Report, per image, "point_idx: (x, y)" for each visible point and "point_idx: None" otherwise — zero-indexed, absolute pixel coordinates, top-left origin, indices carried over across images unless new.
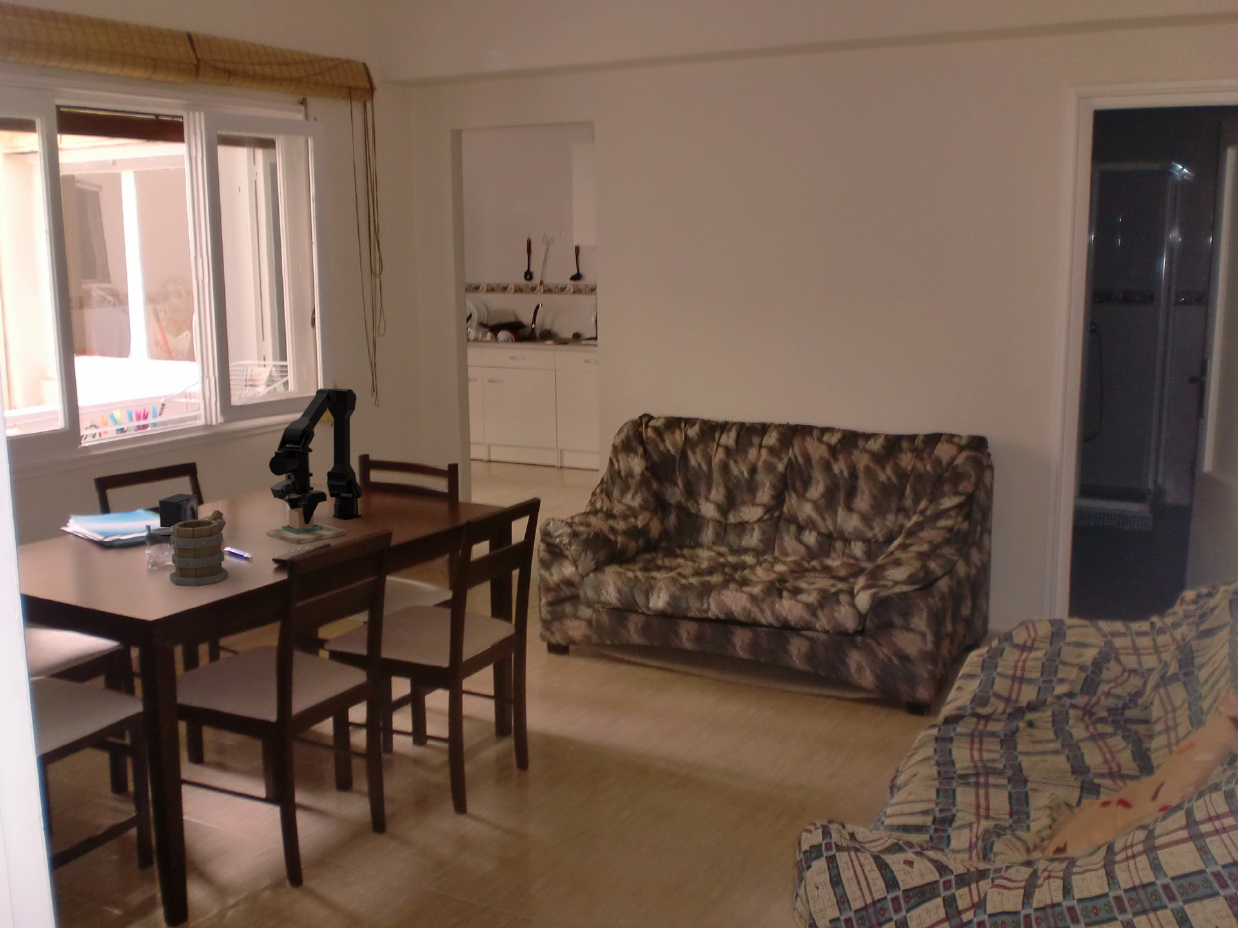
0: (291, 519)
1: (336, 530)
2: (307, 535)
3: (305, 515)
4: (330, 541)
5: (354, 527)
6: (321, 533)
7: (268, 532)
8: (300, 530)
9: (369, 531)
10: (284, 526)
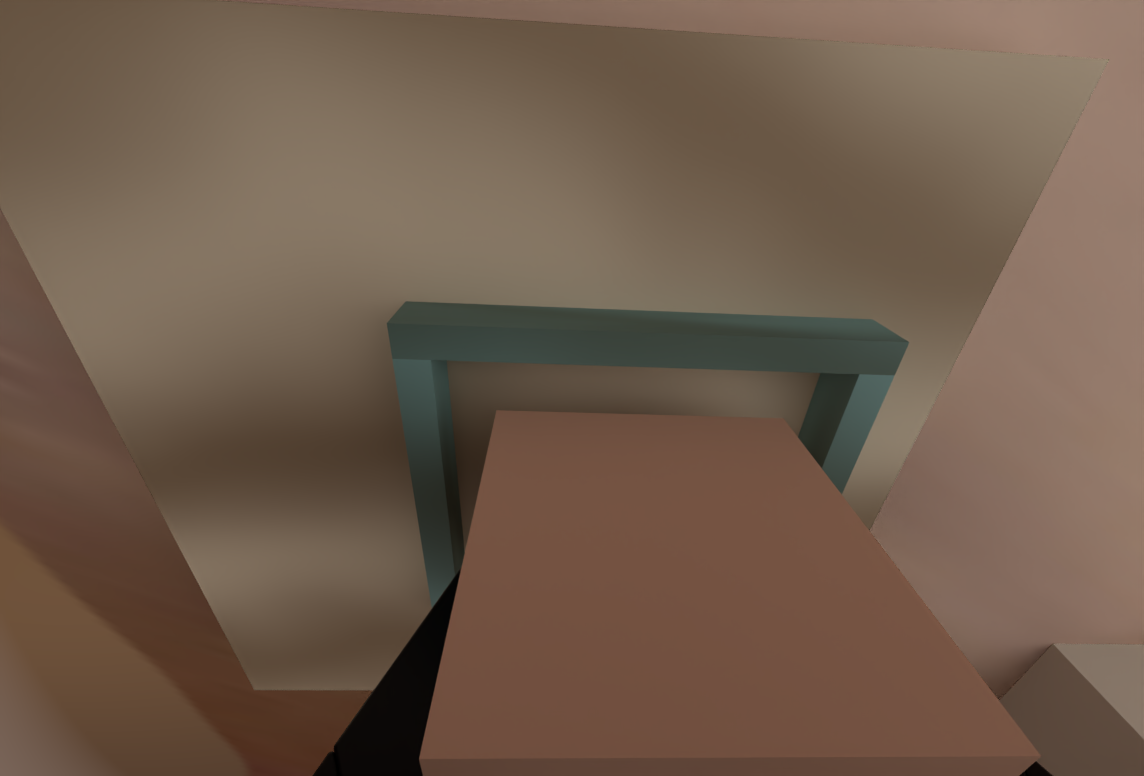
0: (762, 514)
1: (305, 654)
2: (228, 357)
3: (355, 718)
4: (9, 448)
5: None
6: (248, 520)
7: (1013, 53)
8: (400, 383)
9: (279, 754)
10: (865, 374)
